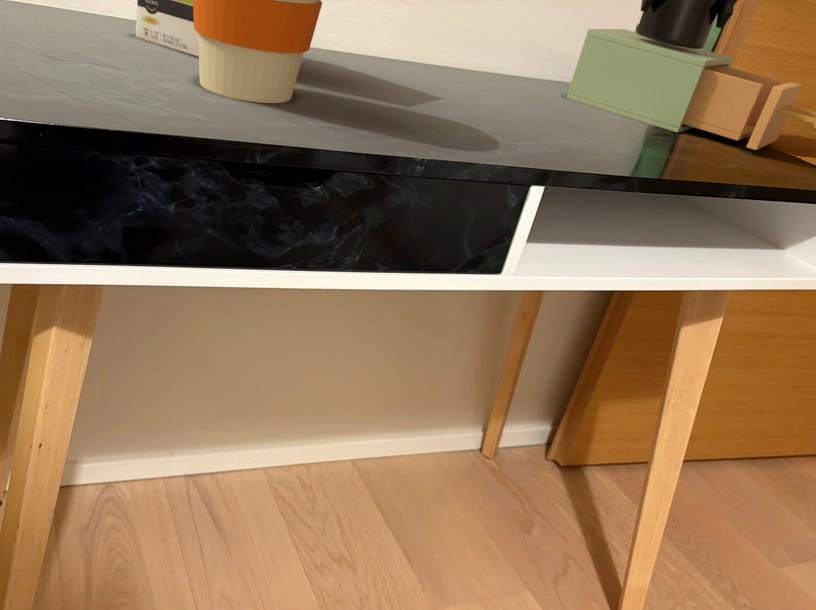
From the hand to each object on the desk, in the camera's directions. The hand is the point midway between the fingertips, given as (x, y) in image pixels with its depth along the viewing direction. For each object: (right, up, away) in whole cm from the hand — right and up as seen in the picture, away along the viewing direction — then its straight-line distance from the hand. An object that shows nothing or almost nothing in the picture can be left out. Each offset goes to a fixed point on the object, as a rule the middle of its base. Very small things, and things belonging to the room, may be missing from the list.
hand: (685, 12), depth 100 cm
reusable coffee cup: (-52, -17, -21) cm, 59 cm away
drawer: (+8, -14, +4) cm, 17 cm away
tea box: (-58, -8, -8) cm, 59 cm away
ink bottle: (0, -2, +5) cm, 5 cm away
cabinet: (-2, -9, +11) cm, 14 cm away
